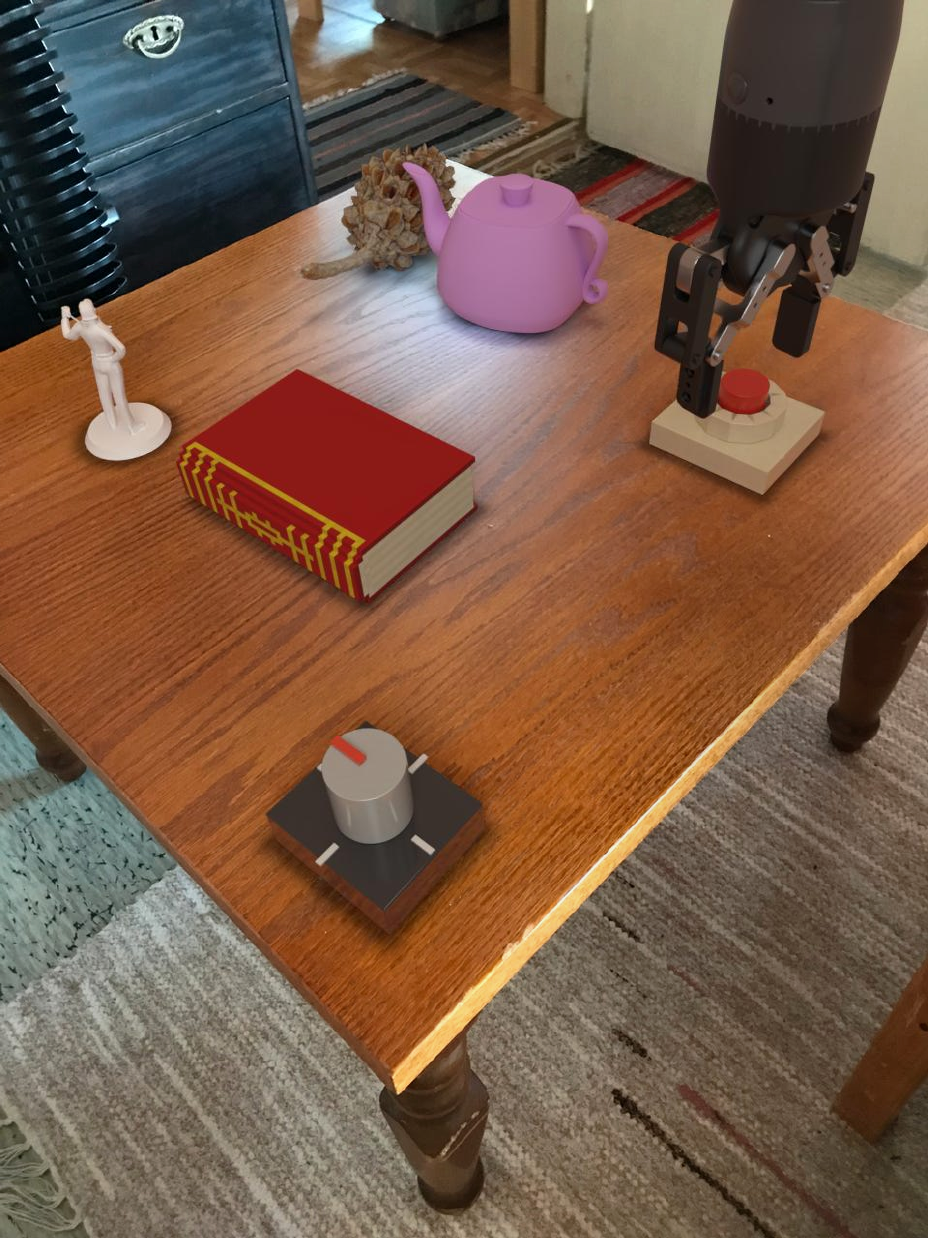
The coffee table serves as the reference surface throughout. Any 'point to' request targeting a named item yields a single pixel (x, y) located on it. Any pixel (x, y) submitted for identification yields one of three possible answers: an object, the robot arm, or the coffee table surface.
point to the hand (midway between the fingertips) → (743, 379)
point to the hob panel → (388, 870)
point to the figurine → (114, 395)
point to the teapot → (513, 252)
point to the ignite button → (743, 391)
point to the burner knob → (368, 785)
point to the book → (331, 482)
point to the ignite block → (741, 438)
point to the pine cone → (388, 213)
